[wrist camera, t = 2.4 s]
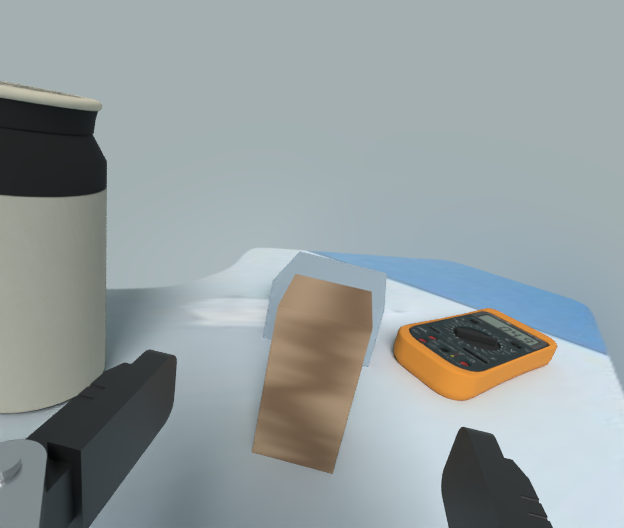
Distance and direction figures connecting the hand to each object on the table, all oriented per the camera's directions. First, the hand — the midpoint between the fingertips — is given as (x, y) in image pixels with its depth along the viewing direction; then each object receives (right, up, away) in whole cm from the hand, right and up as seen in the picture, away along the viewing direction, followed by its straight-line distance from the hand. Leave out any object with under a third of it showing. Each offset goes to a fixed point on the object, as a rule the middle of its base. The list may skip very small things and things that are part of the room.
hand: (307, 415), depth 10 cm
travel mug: (-18, -3, +15) cm, 24 cm away
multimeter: (+16, -6, +28) cm, 33 cm away
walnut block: (-1, -7, +15) cm, 16 cm away
